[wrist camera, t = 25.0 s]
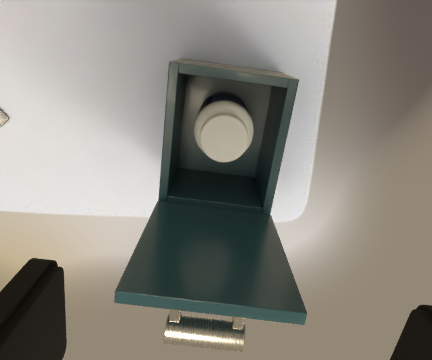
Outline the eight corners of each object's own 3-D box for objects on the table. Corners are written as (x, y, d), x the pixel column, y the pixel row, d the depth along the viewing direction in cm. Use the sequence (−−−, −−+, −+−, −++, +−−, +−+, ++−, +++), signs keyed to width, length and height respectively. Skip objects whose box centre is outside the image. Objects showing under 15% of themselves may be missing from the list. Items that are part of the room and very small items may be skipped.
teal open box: (181, 58, 35) (169, 61, 27) (281, 72, 36) (299, 79, 27) (171, 170, 40) (158, 202, 32) (259, 182, 40) (269, 216, 32)
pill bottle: (198, 90, 36) (191, 105, 26) (249, 92, 36) (259, 107, 26) (198, 140, 38) (190, 169, 28) (246, 141, 38) (254, 171, 28)
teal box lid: (114, 290, 18) (111, 363, 20) (307, 313, 19) (289, 382, 20) (157, 200, 31) (153, 248, 33) (271, 214, 31) (261, 261, 33)
